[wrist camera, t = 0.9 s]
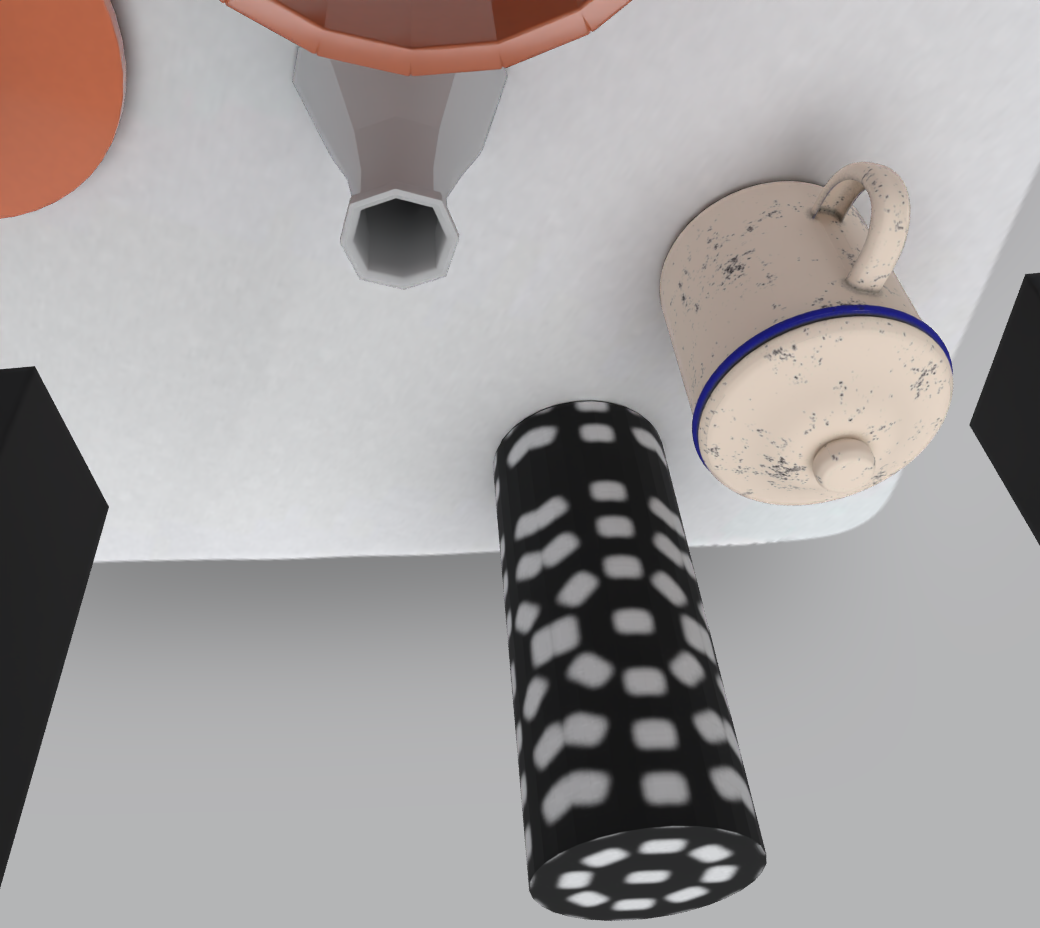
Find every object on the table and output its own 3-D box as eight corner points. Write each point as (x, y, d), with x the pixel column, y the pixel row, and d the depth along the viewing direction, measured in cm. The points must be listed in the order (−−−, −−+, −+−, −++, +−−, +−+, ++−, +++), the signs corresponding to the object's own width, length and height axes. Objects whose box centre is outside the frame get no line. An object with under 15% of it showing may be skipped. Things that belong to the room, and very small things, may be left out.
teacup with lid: (814, 366, 45) (904, 571, 37) (624, 342, 43) (674, 552, 35) (953, 120, 36) (1107, 316, 28) (724, 77, 35) (820, 273, 27)
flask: (506, 168, 36) (530, 340, 30) (308, 174, 36) (285, 351, 29) (507, -40, 31) (536, 111, 24) (274, -36, 31) (238, 119, 24)
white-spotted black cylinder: (486, 518, 51) (517, 925, 37) (501, 398, 45) (544, 830, 31) (644, 519, 52) (731, 915, 38) (679, 402, 46) (797, 821, 32)
